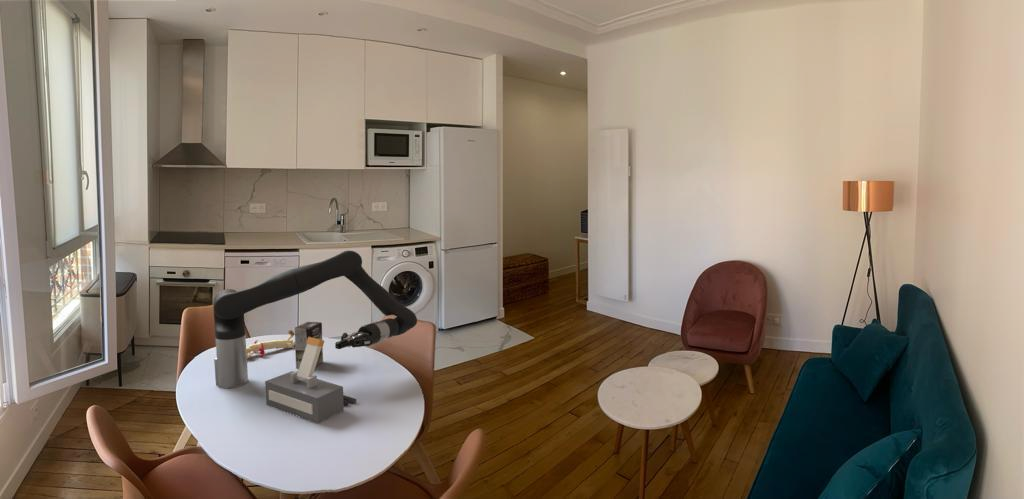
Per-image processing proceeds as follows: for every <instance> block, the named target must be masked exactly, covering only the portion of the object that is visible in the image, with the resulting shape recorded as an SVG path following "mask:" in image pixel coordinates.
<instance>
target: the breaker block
mask: <svg viewBox="0 0 1024 499" xmlns="http://www.w3.org/2000/svg"><path fill="white" fill-rule="evenodd" d="M297 374H298V370H296V371H293V370H292V371H289V372H285V373H283V374H281V375H278V376H275V377H273V378H270V379H267V380H265V381H264V386H265V406H268V407H271V408H273V407H274V409H276V408H277V409H276V410H279V411H282V412H284V411H285V413H287V412H288V413H287V414H290V413H291V414H290V415H293V414H294V415H293V416H296V415H297V416H296V417H298V416H300V417H299V418H301V417H302V418H301V419H304V418H305V419H304V420H307V421H309V420H310V422H312V421H313V422H312V423H316V424H320V423H322V422H324V421H326V420H328V419H330V418H332V417H334V416H336V415H338V414H340V413H342V412H344V411H343V410H345V409H344V407H347V406H348V405H349V403H351V404H354V403H355V404H356V402H357V398H354V397H351V396H347V395H346V394H345V395H344V386H342V385H339V384H336V383H333V382H328V381H325V380H322V379H319V378H318V377H317V375H314V374H313V376H312V377H309V378H307V383H306V382H303V381H299V380H296V379H295V377H296V376H297ZM346 405H347V406H346ZM341 411H342V412H341ZM339 412H340V413H339ZM337 413H338V414H337ZM335 414H336V415H335ZM333 415H334V416H333ZM331 416H332V417H331ZM329 417H330V418H329ZM327 418H328V419H327ZM325 419H326V420H325ZM323 420H324V421H323ZM321 421H322V422H321Z"/></svg>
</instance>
